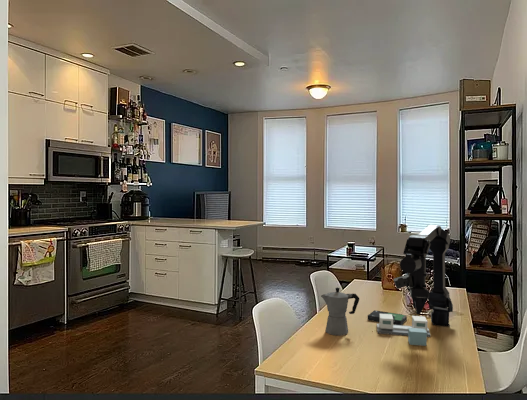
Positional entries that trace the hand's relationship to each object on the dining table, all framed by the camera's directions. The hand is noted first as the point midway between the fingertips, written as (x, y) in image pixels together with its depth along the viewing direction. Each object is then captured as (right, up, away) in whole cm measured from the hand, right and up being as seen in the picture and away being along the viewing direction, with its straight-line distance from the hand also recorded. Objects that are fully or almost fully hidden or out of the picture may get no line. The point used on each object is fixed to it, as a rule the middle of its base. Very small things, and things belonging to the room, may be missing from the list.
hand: (416, 310), depth 165 cm
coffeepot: (-27, -12, +12) cm, 32 cm away
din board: (-1, -12, +14) cm, 18 cm away
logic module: (0, -12, 0) cm, 12 cm away
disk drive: (-3, -12, +29) cm, 32 cm away
